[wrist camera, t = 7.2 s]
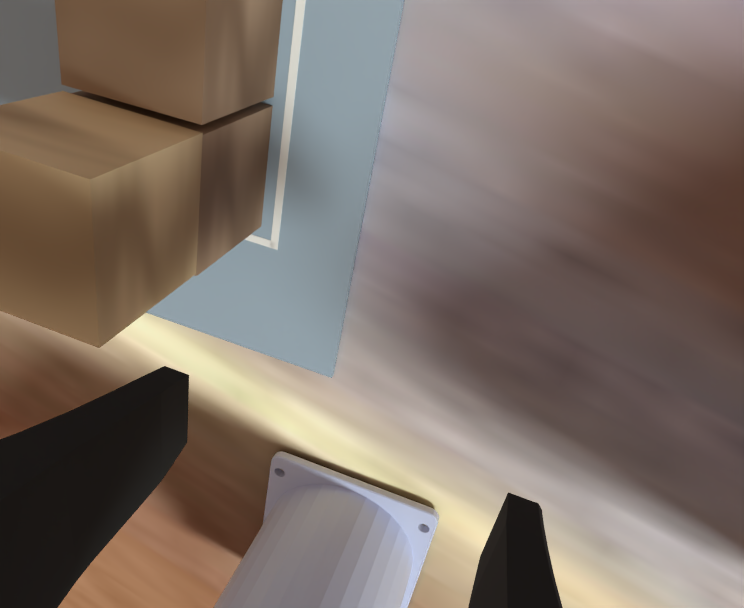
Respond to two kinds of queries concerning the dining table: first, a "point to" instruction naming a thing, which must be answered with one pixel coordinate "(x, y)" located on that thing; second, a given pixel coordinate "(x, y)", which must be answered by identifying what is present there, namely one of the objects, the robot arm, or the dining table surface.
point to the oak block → (93, 213)
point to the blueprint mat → (272, 174)
